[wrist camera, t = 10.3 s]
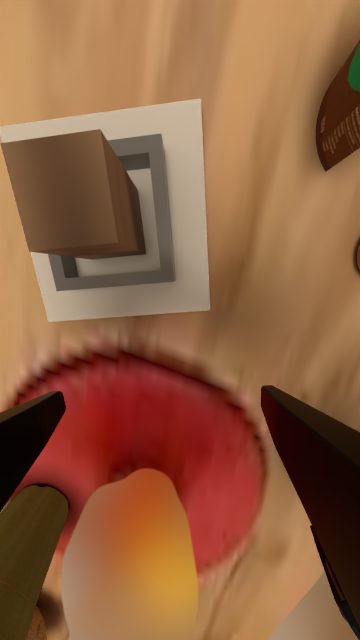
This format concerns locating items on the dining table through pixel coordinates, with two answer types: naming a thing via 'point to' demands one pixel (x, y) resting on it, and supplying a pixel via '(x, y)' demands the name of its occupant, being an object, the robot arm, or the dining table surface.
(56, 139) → the walnut peg
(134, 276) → the socket base
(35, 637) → the cantaloupe
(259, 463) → the dining table surface
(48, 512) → the plant pot
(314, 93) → the dining table surface
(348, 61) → the food container
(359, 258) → the beverage can
